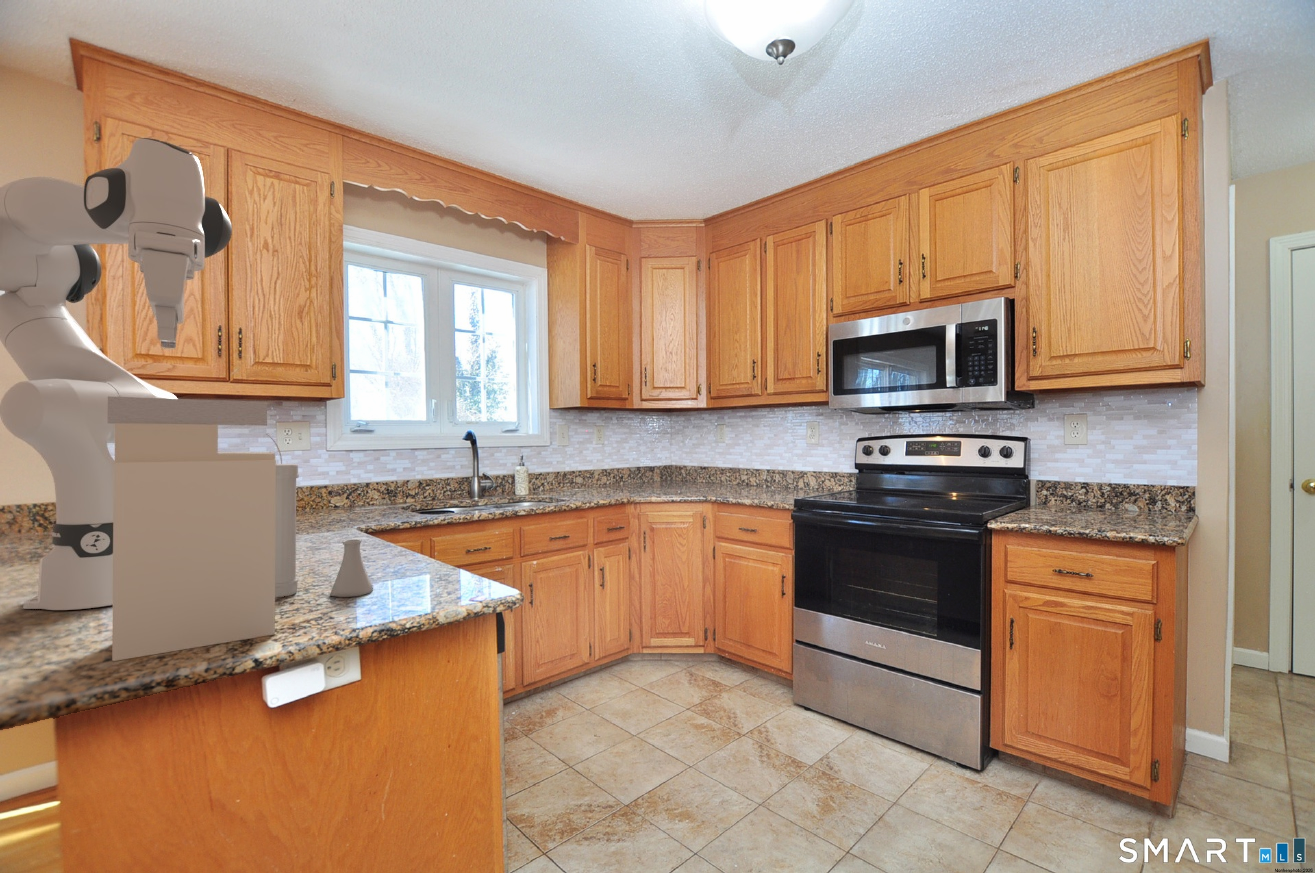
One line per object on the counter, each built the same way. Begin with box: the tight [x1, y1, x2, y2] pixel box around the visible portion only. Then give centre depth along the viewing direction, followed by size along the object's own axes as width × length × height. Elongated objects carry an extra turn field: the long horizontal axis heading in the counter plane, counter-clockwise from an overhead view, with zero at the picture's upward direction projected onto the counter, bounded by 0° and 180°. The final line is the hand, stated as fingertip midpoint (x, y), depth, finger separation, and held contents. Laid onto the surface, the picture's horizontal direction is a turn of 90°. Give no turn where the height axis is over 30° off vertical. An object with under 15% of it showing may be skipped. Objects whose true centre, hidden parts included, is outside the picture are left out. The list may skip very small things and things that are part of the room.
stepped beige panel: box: [111, 423, 277, 662], centre depth 88 cm, size 10×18×31 cm, turn 128°
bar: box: [108, 397, 268, 427], centre depth 87 cm, size 4×18×4 cm, turn 128°
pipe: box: [265, 433, 300, 599], centre depth 112 cm, size 6×6×30 cm
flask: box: [329, 538, 374, 598], centre depth 113 cm, size 7×7×10 cm
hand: (167, 344), depth 89 cm, fingers open, 8 cm apart
